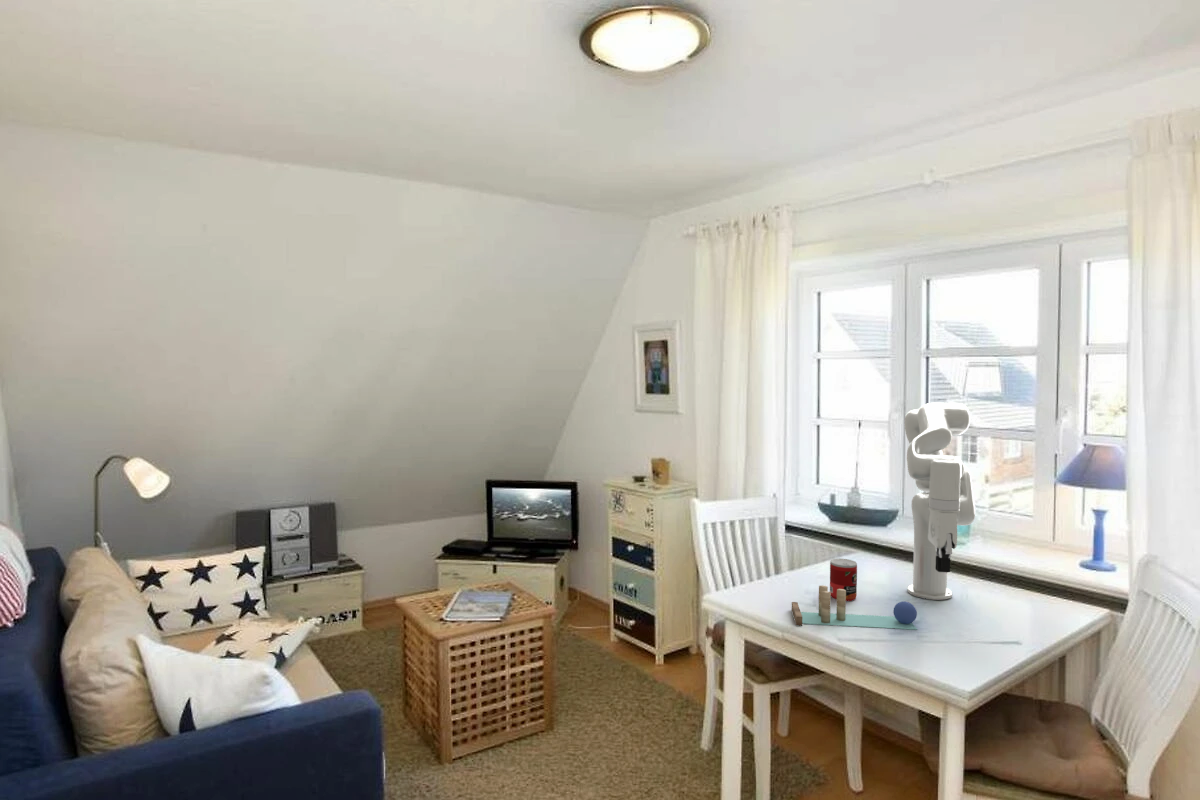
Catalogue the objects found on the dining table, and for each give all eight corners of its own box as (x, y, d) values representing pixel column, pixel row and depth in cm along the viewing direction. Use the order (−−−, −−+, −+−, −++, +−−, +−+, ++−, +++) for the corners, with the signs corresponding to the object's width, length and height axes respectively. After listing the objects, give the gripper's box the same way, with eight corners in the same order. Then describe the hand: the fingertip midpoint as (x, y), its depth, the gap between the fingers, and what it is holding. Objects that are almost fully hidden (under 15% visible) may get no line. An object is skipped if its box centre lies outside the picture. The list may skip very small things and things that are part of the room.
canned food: (847, 603, 215) (848, 567, 214) (824, 596, 221) (824, 561, 220) (861, 597, 220) (862, 562, 219) (838, 591, 226) (838, 556, 225)
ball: (890, 618, 202) (891, 597, 202) (913, 619, 201) (913, 598, 201) (896, 626, 196) (896, 605, 196) (919, 627, 195) (919, 606, 195)
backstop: (791, 610, 209) (791, 601, 209) (797, 610, 209) (797, 602, 209) (796, 625, 197) (796, 616, 197) (802, 625, 197) (802, 616, 197)
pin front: (835, 618, 203) (836, 588, 202) (844, 618, 202) (845, 589, 202) (837, 621, 200) (837, 591, 200) (846, 621, 200) (846, 591, 199)
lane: (798, 612, 207) (798, 611, 207) (908, 617, 203) (908, 617, 203) (802, 623, 198) (802, 623, 198) (917, 629, 194) (917, 629, 194)
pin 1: (817, 614, 206) (818, 585, 205) (826, 614, 205) (827, 585, 205) (819, 617, 203) (819, 587, 203) (827, 617, 203) (828, 588, 202)
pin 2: (820, 620, 201) (820, 590, 200) (829, 621, 200) (829, 591, 200) (821, 623, 198) (822, 593, 198) (830, 624, 198) (831, 594, 197)
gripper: (921, 498, 203) (920, 562, 204) (938, 510, 188) (936, 579, 189) (949, 499, 202) (948, 563, 203) (968, 510, 187) (966, 580, 188)
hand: (942, 570), depth 196 cm, fingers closed
